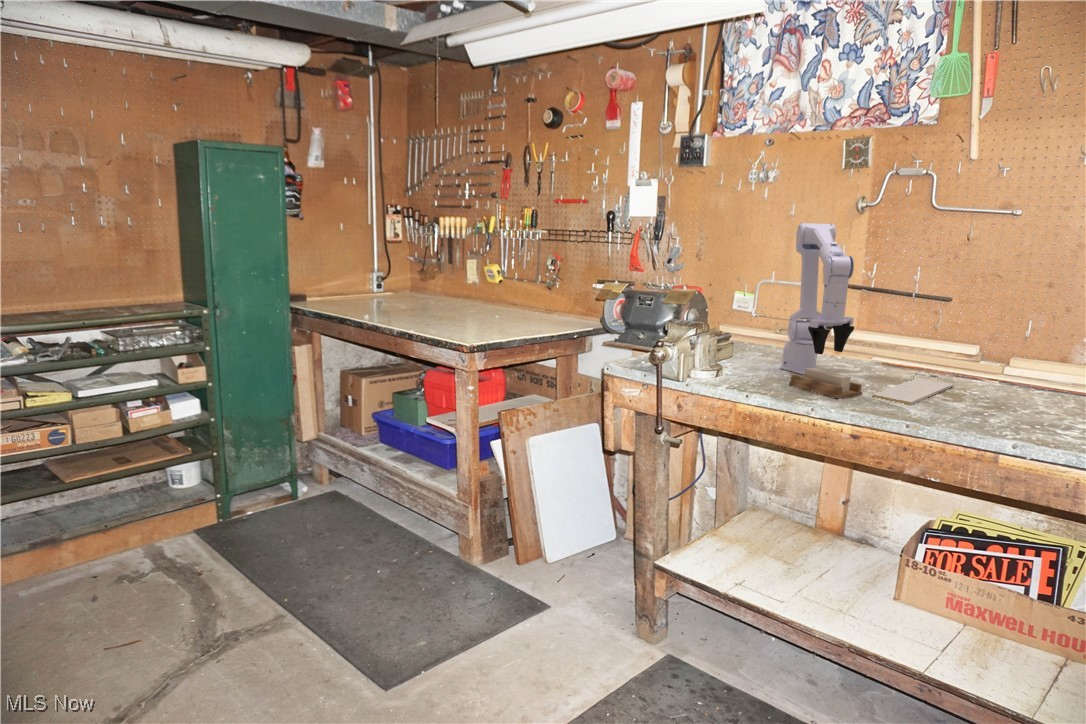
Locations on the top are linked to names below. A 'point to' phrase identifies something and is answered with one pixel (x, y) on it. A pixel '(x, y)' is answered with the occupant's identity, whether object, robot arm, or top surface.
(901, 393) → the baseboard
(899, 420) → the top surface
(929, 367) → the top surface
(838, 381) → the beige rectangular block
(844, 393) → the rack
